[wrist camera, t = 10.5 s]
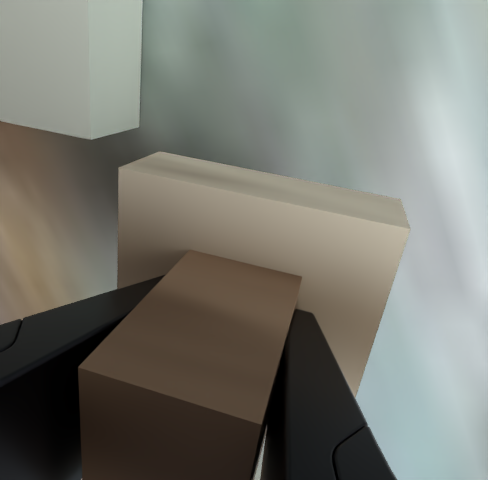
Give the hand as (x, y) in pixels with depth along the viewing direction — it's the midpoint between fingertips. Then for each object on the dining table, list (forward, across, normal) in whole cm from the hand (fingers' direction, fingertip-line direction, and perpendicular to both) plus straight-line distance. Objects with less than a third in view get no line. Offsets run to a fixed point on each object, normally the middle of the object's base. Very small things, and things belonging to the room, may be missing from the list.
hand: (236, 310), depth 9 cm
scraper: (+2, 0, 0) cm, 2 cm away
